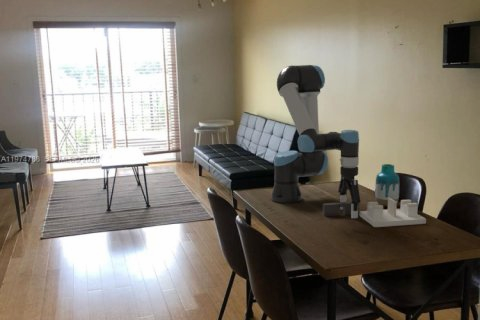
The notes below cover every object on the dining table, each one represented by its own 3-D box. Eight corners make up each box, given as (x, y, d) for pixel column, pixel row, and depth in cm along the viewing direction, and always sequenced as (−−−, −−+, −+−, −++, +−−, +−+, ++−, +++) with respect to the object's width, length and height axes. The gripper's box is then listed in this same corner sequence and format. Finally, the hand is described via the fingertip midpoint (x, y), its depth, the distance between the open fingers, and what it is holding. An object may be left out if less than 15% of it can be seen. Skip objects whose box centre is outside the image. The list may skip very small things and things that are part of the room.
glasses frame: (322, 214, 219) (322, 203, 218) (356, 212, 221) (356, 201, 220) (324, 216, 216) (324, 205, 215) (358, 213, 219) (358, 202, 218)
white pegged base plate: (359, 215, 216) (359, 196, 214) (407, 212, 219) (407, 193, 217) (374, 227, 200) (375, 206, 199) (425, 223, 203) (426, 203, 202)
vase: (390, 210, 223) (391, 168, 219) (370, 205, 230) (371, 165, 227) (403, 205, 229) (404, 164, 226) (383, 201, 237) (384, 162, 234)
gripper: (331, 161, 227) (331, 206, 230) (351, 172, 202) (350, 222, 206) (347, 160, 228) (346, 205, 232) (369, 171, 203) (368, 221, 207)
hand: (348, 213), depth 219 cm, fingers open, 13 cm apart
